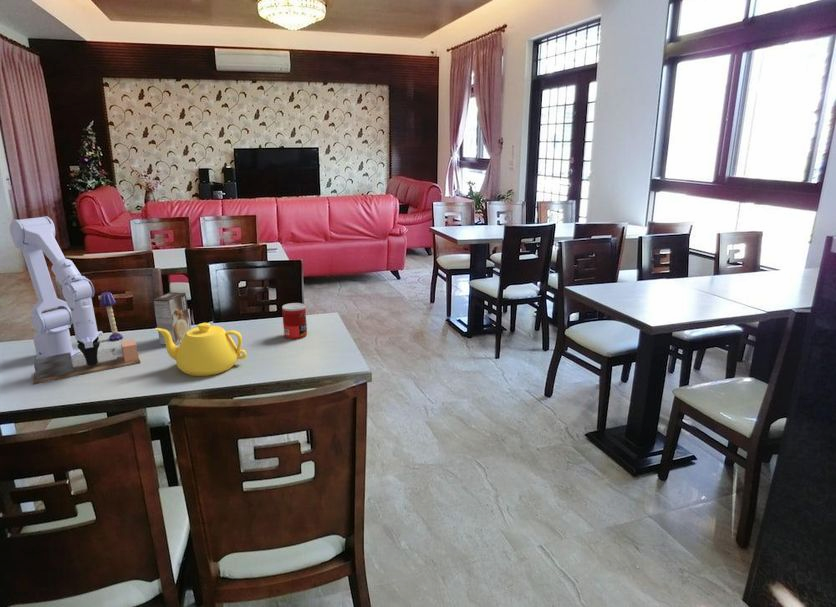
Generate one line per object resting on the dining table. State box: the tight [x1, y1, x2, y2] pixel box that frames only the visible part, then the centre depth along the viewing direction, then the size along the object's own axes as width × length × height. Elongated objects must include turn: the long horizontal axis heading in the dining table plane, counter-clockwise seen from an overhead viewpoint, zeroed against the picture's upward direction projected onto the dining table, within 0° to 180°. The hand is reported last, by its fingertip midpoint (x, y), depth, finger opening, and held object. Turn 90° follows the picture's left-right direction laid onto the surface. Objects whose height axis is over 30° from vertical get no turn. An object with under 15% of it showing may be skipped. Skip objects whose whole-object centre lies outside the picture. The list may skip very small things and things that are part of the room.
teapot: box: [155, 322, 248, 377], centre depth 163 cm, size 25×18×14 cm
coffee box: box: [152, 291, 192, 346], centre depth 184 cm, size 9×6×16 cm
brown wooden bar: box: [32, 353, 141, 385], centre depth 163 cm, size 28×8×5 cm, turn 123°
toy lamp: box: [100, 291, 124, 341], centre depth 186 cm, size 5×5×17 cm
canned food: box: [281, 302, 308, 340], centre depth 189 cm, size 8×8×11 cm
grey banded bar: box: [71, 347, 118, 367], centre depth 162 cm, size 19×3×3 cm, turn 123°
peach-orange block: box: [120, 339, 140, 363], centre depth 169 cm, size 4×5×5 cm
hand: (92, 362), depth 164 cm, fingers closed on grey banded bar, 3 cm apart
